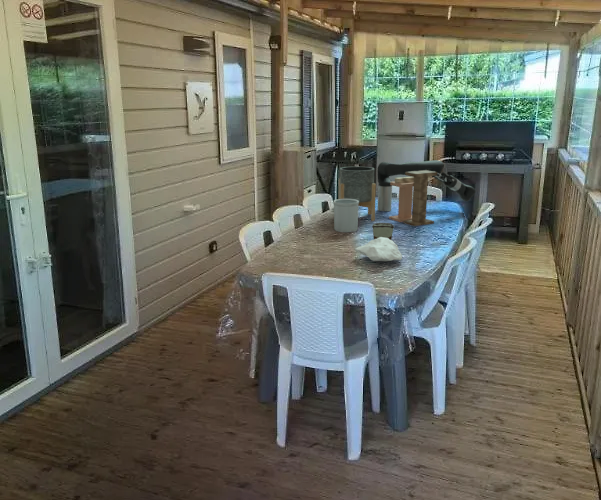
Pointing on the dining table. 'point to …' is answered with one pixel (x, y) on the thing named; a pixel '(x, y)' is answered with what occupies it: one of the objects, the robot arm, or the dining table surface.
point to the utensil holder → (346, 215)
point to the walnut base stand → (419, 197)
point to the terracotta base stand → (404, 201)
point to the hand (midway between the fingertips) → (437, 172)
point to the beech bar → (407, 179)
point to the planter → (358, 187)
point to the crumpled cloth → (380, 250)
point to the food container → (382, 230)
